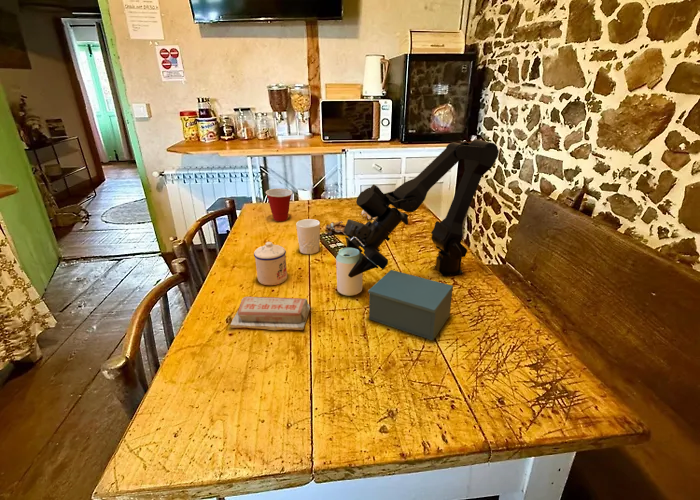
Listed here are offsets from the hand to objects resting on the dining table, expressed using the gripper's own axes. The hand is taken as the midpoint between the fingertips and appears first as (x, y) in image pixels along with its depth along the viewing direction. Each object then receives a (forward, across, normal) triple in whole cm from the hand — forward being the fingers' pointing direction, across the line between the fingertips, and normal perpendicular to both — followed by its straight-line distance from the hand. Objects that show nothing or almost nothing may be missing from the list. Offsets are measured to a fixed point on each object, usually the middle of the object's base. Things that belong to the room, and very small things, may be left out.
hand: (344, 270), depth 107 cm
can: (+4, 0, +6) cm, 7 cm away
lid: (-8, +18, +7) cm, 21 cm away
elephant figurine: (-16, -52, +26) cm, 60 cm away
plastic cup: (+8, -65, +1) cm, 66 cm away
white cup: (+6, -31, +3) cm, 31 cm away
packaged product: (+20, +6, -10) cm, 23 cm away
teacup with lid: (+17, -16, -7) cm, 24 cm away
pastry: (-5, -43, +14) cm, 45 cm away
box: (-3, +18, +12) cm, 22 cm away
